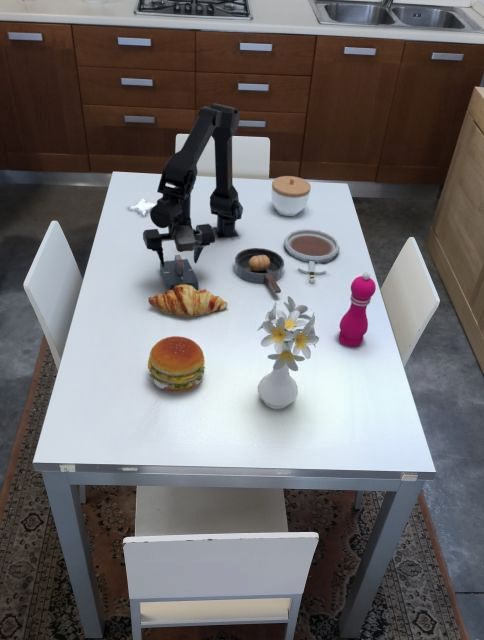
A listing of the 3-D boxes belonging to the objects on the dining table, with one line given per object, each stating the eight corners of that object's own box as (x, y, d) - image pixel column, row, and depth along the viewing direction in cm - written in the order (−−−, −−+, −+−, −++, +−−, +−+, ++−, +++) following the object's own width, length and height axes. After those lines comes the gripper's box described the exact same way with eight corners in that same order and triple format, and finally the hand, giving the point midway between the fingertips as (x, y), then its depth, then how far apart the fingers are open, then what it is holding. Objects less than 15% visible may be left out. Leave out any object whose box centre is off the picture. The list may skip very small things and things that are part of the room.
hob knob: (174, 267, 180) (174, 254, 177) (179, 267, 181) (179, 253, 178) (178, 275, 178) (178, 262, 175) (183, 275, 178) (183, 261, 175)
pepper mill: (366, 335, 170) (384, 269, 155) (361, 351, 165) (379, 284, 150) (339, 328, 171) (355, 262, 157) (333, 344, 166) (349, 276, 152)
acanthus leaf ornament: (142, 201, 212) (142, 196, 211) (158, 208, 210) (158, 203, 208) (127, 209, 208) (127, 204, 206) (143, 216, 205) (143, 211, 204)
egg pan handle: (264, 277, 181) (264, 274, 181) (270, 276, 182) (270, 273, 181) (274, 293, 176) (275, 290, 175) (280, 292, 176) (281, 290, 176)
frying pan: (283, 275, 183) (285, 225, 202) (282, 283, 185) (283, 233, 204) (342, 281, 183) (338, 230, 202) (340, 289, 185) (337, 238, 204)
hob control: (159, 271, 184) (159, 261, 182) (187, 267, 186) (187, 258, 184) (169, 294, 177) (169, 284, 174) (198, 290, 179) (199, 281, 176)
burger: (183, 404, 147) (183, 371, 140) (136, 381, 151) (134, 348, 144) (215, 373, 155) (217, 340, 148) (169, 352, 160) (169, 319, 152)
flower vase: (255, 431, 143) (267, 342, 125) (246, 376, 155) (255, 288, 137) (312, 430, 144) (332, 341, 126) (299, 375, 157) (315, 288, 138)
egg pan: (228, 261, 190) (228, 250, 188) (272, 256, 194) (274, 245, 191) (243, 287, 181) (244, 277, 179) (289, 281, 185) (291, 271, 182)
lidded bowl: (263, 214, 211) (267, 181, 203) (276, 198, 220) (280, 166, 212) (299, 223, 209) (304, 191, 201) (311, 207, 217) (316, 175, 209)
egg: (245, 267, 188) (247, 253, 185) (266, 264, 190) (267, 251, 186) (250, 275, 185) (252, 261, 182) (271, 272, 187) (273, 259, 184)
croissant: (225, 313, 178) (226, 284, 175) (229, 319, 168) (230, 288, 166) (148, 312, 175) (148, 282, 173) (148, 317, 166) (148, 285, 163)
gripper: (150, 230, 159) (152, 284, 170) (222, 223, 164) (219, 276, 175) (141, 208, 166) (143, 262, 177) (210, 202, 171) (208, 255, 182)
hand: (179, 264), depth 178 cm, fingers open, 9 cm apart
